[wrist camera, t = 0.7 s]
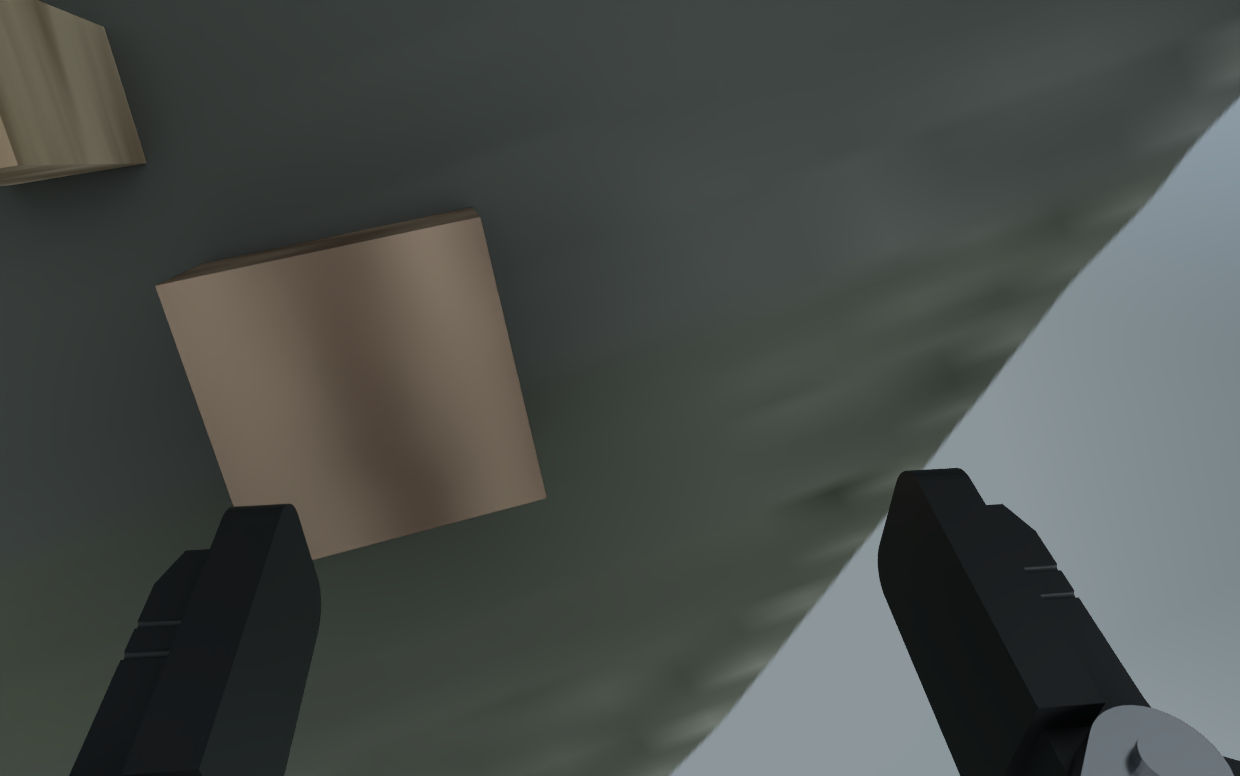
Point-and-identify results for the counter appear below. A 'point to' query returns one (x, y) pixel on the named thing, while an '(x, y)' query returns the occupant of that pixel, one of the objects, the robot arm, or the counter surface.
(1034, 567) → the robot arm
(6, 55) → the oak block
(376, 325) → the walnut base
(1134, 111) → the counter surface
